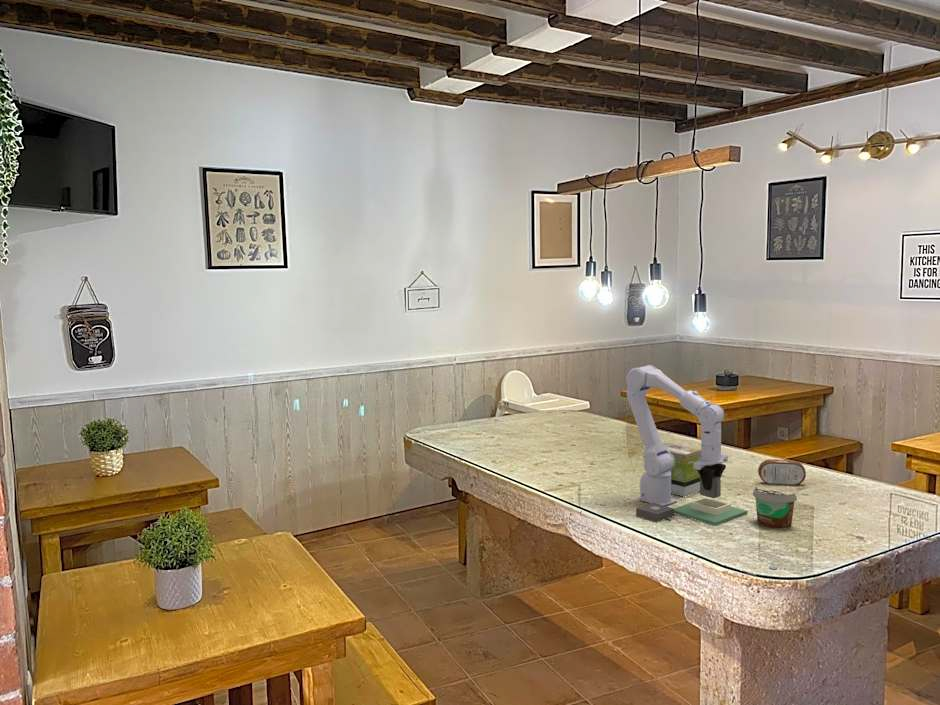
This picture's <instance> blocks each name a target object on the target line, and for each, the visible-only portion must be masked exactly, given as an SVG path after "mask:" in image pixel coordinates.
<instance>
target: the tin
mask: <svg viewBox="0 0 940 705" xmlns="http://www.w3.org/2000/svg"><path fill="white" fill-rule="evenodd" d="M757 472H758V477H759V478H760V479H761V481H762V482H764V483H765V484H768V485H775V486H791V485H795V486H799V485H800V484H802V483H803V482H804V481H805V479H806V476H807V473H806V469H805V467H804V464H802V463H801V462H799V461H797V460H792V459H791V460H790V459H789V460H788V459H786V460H785V459H766V460H764V461H762V462H761V463H760V464H759V466H758V469H757Z"/></svg>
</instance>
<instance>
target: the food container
mask: <svg viewBox="0 0 940 705" xmlns="http://www.w3.org/2000/svg"><path fill="white" fill-rule="evenodd" d="M752 496H753V497H754V498H755V506H756V508H755V510H756V520H757V523H758V524H759V525H761V526H762V525H763V527H765V526H766V527H765V528H771V529H788V528H791V527H792V523H793V517H794V516H793V515H794V507H795V502H796V501H798V499H797V495H796V493H795V492H794V493H791V494H786V493H783V492H779V491H776V490H763V489H760V488H758V486H757V485H755V486H754V488H753V491H752Z"/></svg>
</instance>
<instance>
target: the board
mask: <svg viewBox="0 0 940 705" xmlns="http://www.w3.org/2000/svg"><path fill="white" fill-rule="evenodd" d="M674 513H676V514H675V515H677V514H679V515H678V516H681V515H682V516H681V517H684V516H686V517H685V518H687V517H689V518H688V519H691V518H693V519H692V520H694V519H696V520H695V521H697V520H699V521H698V522H701V521H702V522H701V523H704V522H706V523H705V524H708V523H709V524H708V525H711V524H712V525H711V526H714V525H715V527H716V526H719V525H722V524H725V523H727V522H730V521H732V519H733V520H735V519H738V518H741V517H743V516H746V515H748V510H746V509H743V508H739V507H734V506H732V504H731V503H729V502H726V501H725V502H724V501H720V500H718V499H715V498H710V497H706V496H703V497H702V498H699V499H695V500H692V501H690V502H688V503H686V504H682V505H679V506H677V507H674ZM740 516H741V517H740ZM734 518H735V519H734ZM729 520H730V521H729ZM721 523H722V524H721Z"/></svg>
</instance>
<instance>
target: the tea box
mask: <svg viewBox="0 0 940 705" xmlns="http://www.w3.org/2000/svg"><path fill="white" fill-rule="evenodd" d="M662 443H663V444H664V445H665V446H667V447H668V450H669V452H670V453H671V454H672V455H673V457H674V459H675V466H674V468H673V469H672V470H671V493H672V494H671V495H675V494H676V495H675V496H678V495H680V496H679V497H681V496H684V497H683V498H686V497H685V496H687V497H689V496H688V495H690V496H692V495H695V494H697V493H696V492H698V493H700V492H699V491H700V475H699V473H698V471H697V470H696V469H694V462H696V461H698V460H699V459H700V458H701V448H696V447H695V448H694V447H690V446H683V445H680V444H675V443H671V442H666V441H665V442H662ZM694 493H695V494H694ZM691 494H692V495H691Z"/></svg>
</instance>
